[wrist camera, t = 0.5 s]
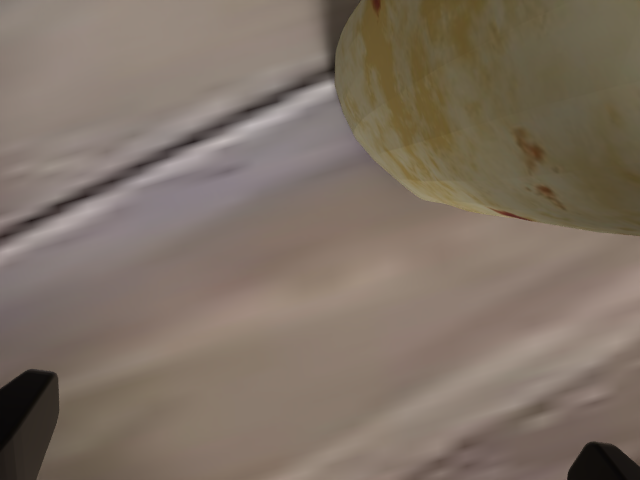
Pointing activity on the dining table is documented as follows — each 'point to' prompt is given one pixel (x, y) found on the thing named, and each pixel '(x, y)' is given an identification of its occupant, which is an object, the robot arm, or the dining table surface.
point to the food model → (501, 104)
